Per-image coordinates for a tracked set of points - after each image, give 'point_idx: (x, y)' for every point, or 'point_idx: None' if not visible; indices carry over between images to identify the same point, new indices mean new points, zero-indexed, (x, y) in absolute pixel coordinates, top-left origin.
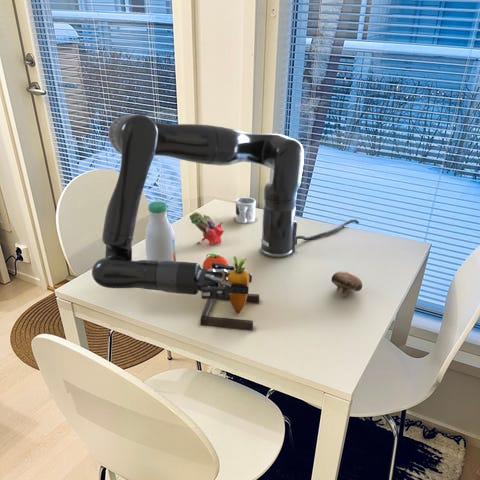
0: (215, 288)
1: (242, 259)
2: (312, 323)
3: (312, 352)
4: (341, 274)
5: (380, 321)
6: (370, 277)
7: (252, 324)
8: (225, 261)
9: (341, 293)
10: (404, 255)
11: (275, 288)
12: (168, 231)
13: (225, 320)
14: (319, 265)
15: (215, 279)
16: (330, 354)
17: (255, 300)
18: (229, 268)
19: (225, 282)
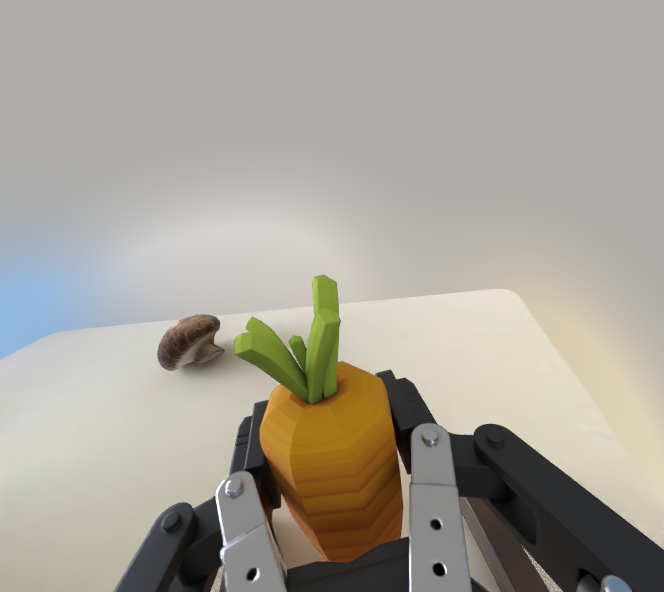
0: (573, 493)
1: (317, 277)
2: None
3: (448, 336)
4: (188, 323)
5: (299, 311)
6: (145, 350)
7: None
8: None
9: (221, 349)
10: (78, 340)
11: (147, 498)
12: None
13: (528, 562)
14: (38, 433)
15: (458, 541)
16: (433, 320)
17: None
18: (182, 540)
19: (424, 466)
